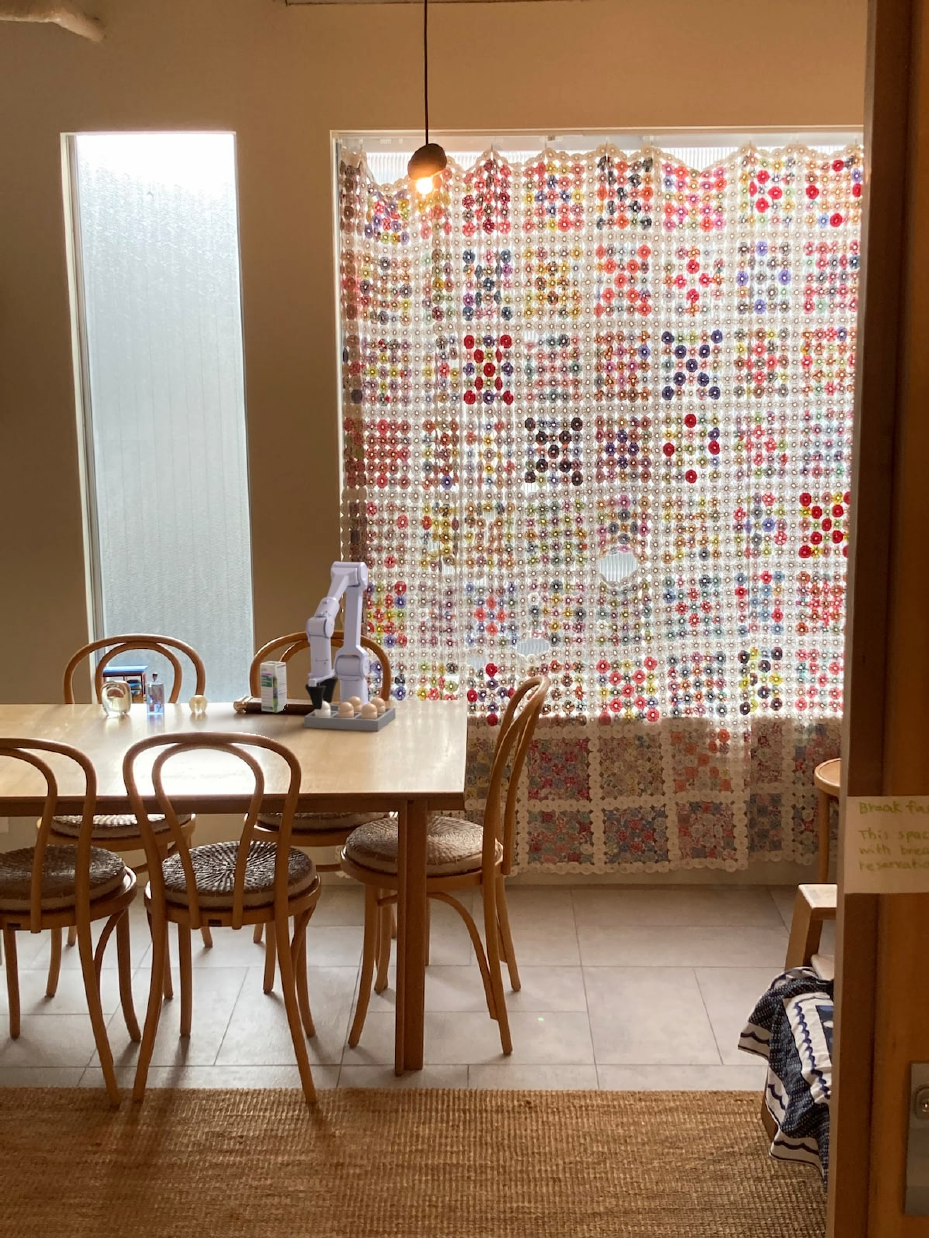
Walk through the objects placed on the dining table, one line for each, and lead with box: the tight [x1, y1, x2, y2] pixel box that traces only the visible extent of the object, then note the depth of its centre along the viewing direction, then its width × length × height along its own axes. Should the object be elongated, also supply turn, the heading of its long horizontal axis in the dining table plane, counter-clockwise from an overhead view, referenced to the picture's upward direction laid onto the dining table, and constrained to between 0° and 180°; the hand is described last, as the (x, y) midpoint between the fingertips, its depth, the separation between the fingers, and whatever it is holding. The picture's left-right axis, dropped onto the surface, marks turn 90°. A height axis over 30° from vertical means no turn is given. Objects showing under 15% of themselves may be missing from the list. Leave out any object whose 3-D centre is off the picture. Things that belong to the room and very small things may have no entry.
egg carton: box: [304, 696, 396, 732], centre depth 331 cm, size 15×22×7 cm
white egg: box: [314, 701, 331, 717], centre depth 329 cm, size 4×4×6 cm
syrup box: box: [259, 660, 288, 713], centre depth 347 cm, size 6×6×14 cm
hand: (322, 705), depth 329 cm, fingers open, 7 cm apart
